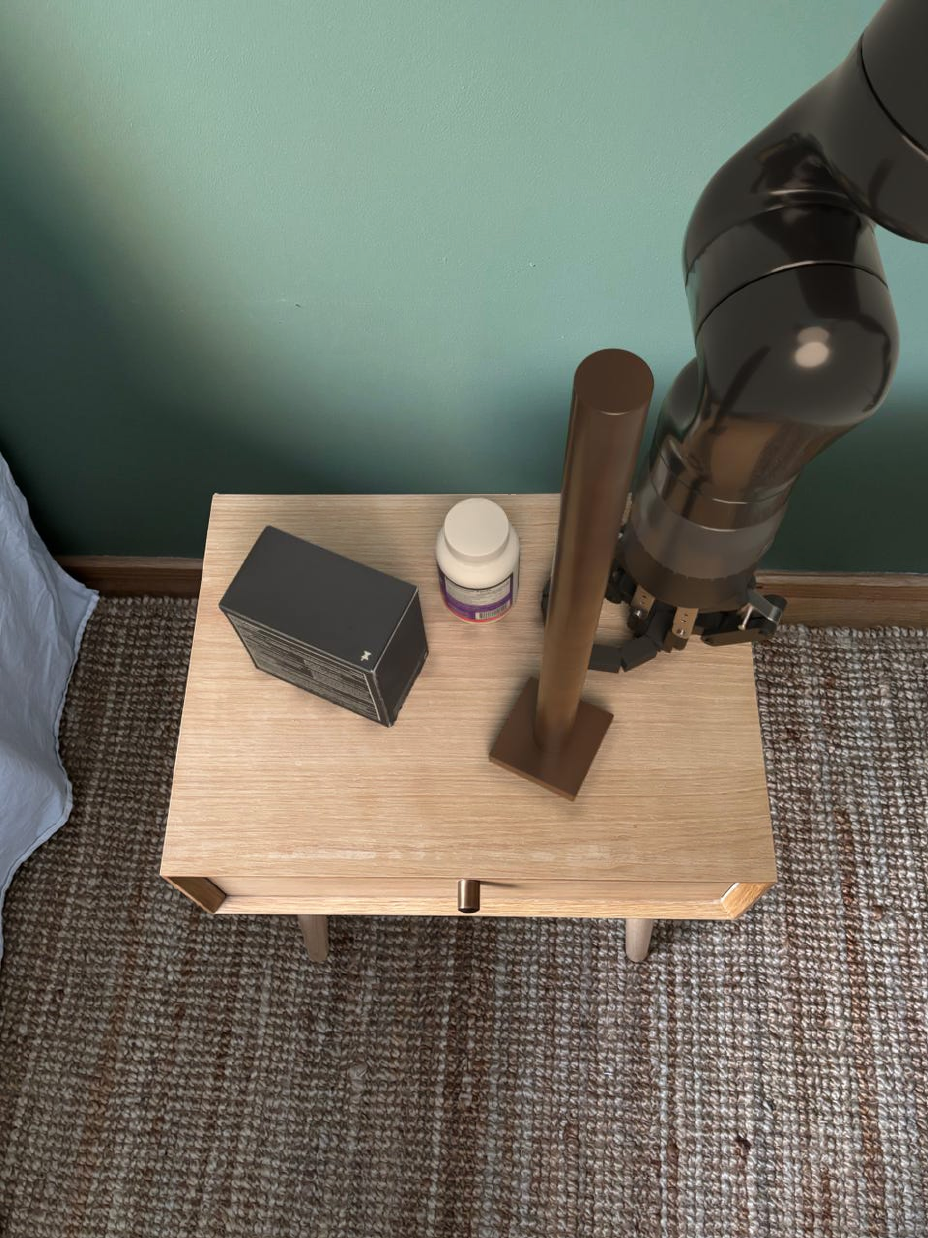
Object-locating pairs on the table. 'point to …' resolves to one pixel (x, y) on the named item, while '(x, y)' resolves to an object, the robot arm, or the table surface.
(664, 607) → the ring
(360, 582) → the small box
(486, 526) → the pill bottle
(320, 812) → the table surface
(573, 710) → the brown upright dowel
